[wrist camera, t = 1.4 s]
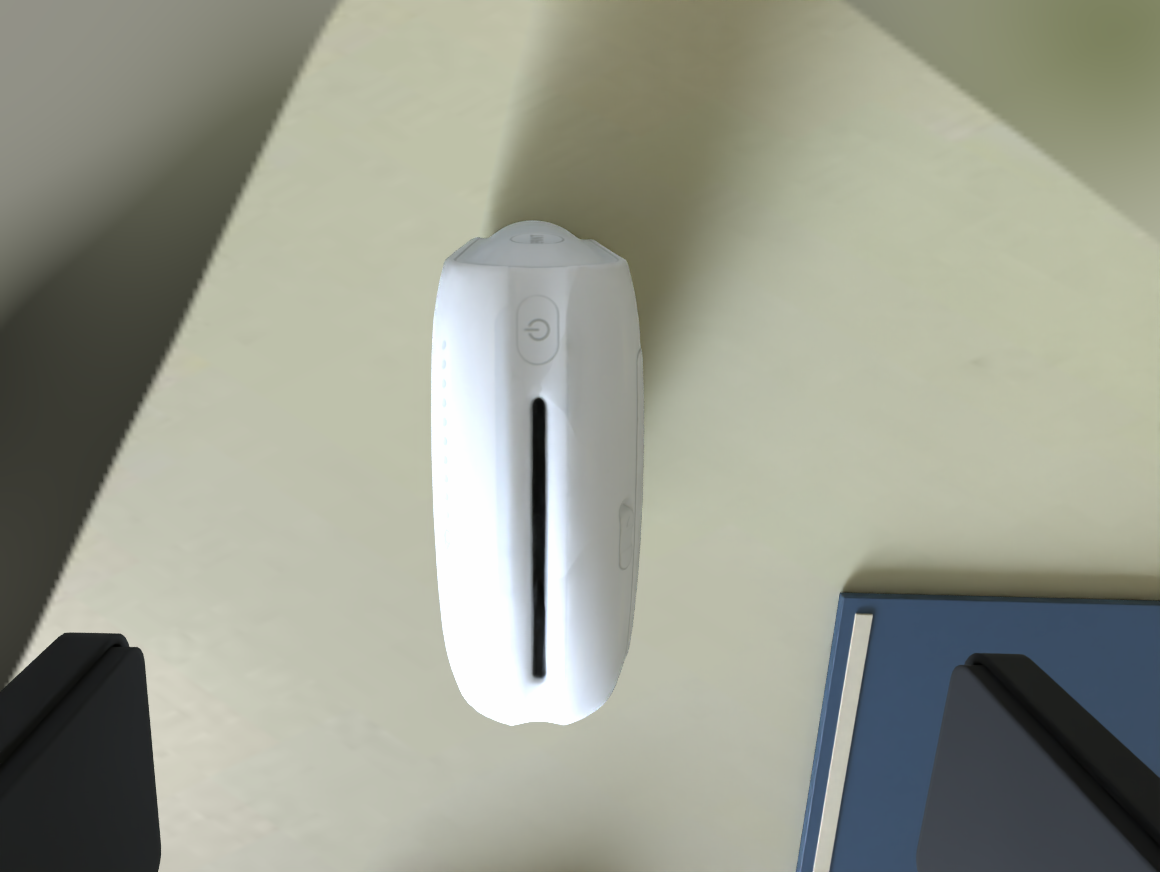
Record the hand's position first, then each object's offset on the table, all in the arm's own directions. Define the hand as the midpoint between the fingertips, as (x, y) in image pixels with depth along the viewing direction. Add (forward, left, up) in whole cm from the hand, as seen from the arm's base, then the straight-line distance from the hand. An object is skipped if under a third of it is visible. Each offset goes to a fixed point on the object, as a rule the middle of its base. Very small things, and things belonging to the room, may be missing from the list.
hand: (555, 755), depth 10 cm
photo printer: (0, 0, -18) cm, 18 cm away
